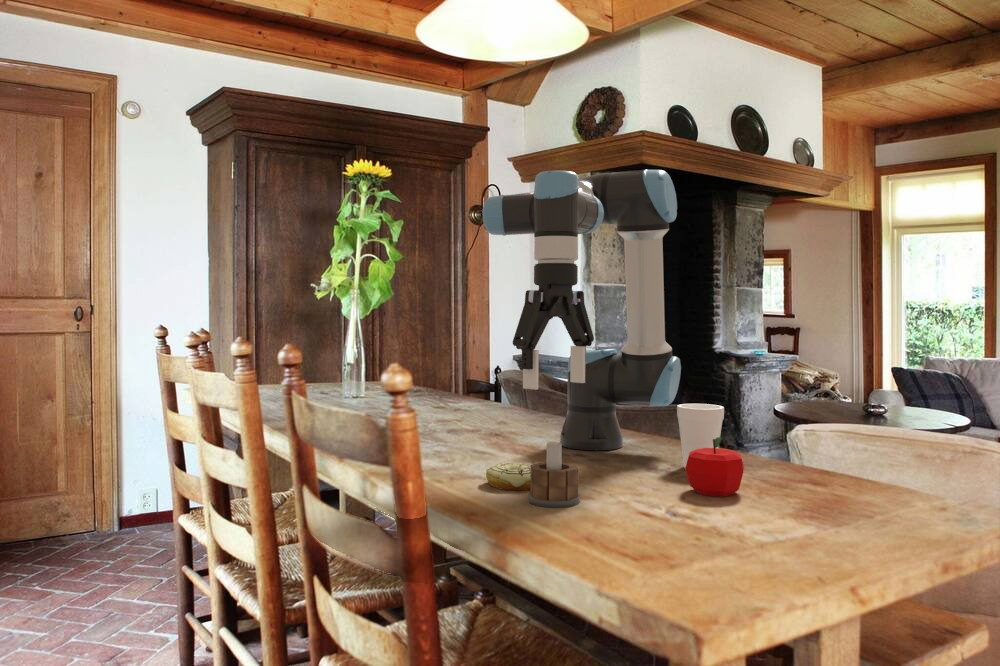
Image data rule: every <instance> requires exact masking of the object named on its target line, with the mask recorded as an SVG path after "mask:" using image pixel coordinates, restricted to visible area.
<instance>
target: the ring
mask: <svg viewBox="0 0 1000 666" xmlns="http://www.w3.org/2000/svg"><path fill="white" fill-rule="evenodd" d="M529 465H530V464H529ZM546 465H547V461H544V462H543V461H542V462H537V463H533V464H531V465H530V489H529V491H530V492H529V493H530V494H531V496H532V497H533V498H535V499H540V500H545V501H547V500H549V501H565V500H571V499H575V498H577V497H578V494H579V467H578V465H576V464H574V463H568V462H562V466H561V470H548V469H546Z"/></svg>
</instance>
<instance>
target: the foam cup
mask: <svg viewBox="0 0 1000 666" xmlns="http://www.w3.org/2000/svg"><path fill="white" fill-rule="evenodd" d="M676 417H677V419H678V427H679V437H680V445H681V453H682V461H683V468H684V469H685V467H686V464H687V460H688V456H689V452H691V451H694V450H696V449H702V448H713V439H716V438H717V437H719V438H721V433H722V432H721V431H722V425H723V421H724V419H725V407H724V406H722V405H717V404H709V403H708V404H707V403H682V404H677V406H676ZM719 446H720V445H719ZM719 446H718V447H717V448H719Z"/></svg>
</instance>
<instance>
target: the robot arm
mask: <svg viewBox="0 0 1000 666" xmlns="http://www.w3.org/2000/svg"><path fill="white" fill-rule="evenodd" d="M533 188H534V190H533V191H529V192H522V193H521V192H520V193H515V194H514V193H513V194H500V195H493V196H492V195H491V196H489V197H488V198H487V199H486V200H485V202H484V204H483V206H482V207H483V208H482V223H483V225H484V228H485V230H486V231H487V233H489V234H490V235H494V236H503V237H505V236H513V235H516V236H517V235H531V234H533V235H534V251H533V252H534V253H533V254H534V255H533V257H534V261H536V262H537V263H535V264H534V265H533V284H534V285H536V286H538V289H527V290H526V291H525V294H524V295H525V297H524V305H523V307H522V310H521V313H520V318H519V320H518V323H517V327H516V331H515V333H514V336H513V339H512V345H513V346H514V347H515V348H516V350H521V368H522V389H525V390H536V391H537V390H539V369H540V368H539V363H540V362H539V360H540V357H539V356H540V355H539V353H540V350H538V349H536V348H537V345H538V344H539V341H540V339H541V337H542V335H543V333H544V331H545V330H546V329H547V328H546V327H547V326H548V324H549V321H550V320H553V318H556V317H557V318H559V319H560V320H561V321H562V324H563V325H564V328H565V329H566V332H567V334H568V335H569V337H570V339H571V341H572V343H573V345H570V356H569V357H568V362H567V363H568V364H567V370H566V374H567V413H566V417H565V419H564V423H563V425H562V429H561V432H560V435H559V443H561V444H562V447H564V448H568V449H573V450H582V451H608V450H609V451H610V450H616V449H620V448H622V447H623V446H624V445H623V444H624V442H623V441H624V437H623V434H622V430H621V426H620V423H619V421H618V417H617V414H616V412H617V411H616V410H617V405H616V404H620V405H630V406H632V405H633V406H649V407H652V408H653V407H667V406H669V405H670V404H672V403H673V401H674V400H675V398H676V395H677V393H678V389H679V384H680V380H681V373H682V372H681V371H682V365H681V359H680V358H679V357H678V356H675V355H673V348H672V346H671V345H670V344H669V343H668V342H666V327H665V326H666V325H665V324H666V321H665V290H664V289H665V286H664V251H663V250H664V249H663V247H664V246H663V244H664V243H663V238H664V236H665V235H666V234H667V233H668V231H670V223H673V222H674V221H676V218H677V215H678V211H677V210H678V200H677V193H676V190H675V185H674V183H673V180H672V179H671V176H670V175H669V174H668V172H666V171H665V170H662V169H641V170H628V171H618V172H604V173H596V174H592V175H589V176H585V177H581V178H579V176H578V174H577V173H575V172H574V171H570V170H561V169H560V170H546V171H541V172H538V174H537V175H536V176H535V178H534V187H533ZM601 225H616V233H617V234H618V235H619V236H620V237H621V238H623V240H624V242H623V243H624V248H623V249H624V270H625V271H624V272H625V273H624V274H625V277H624V278H625V296H626V297H625V298H626V299H625V301H626V329H627V331H626V333H627V334H626V335H627V342H626V343H625V344H624V346H623V347H622V348H621V354H618V351H617V349H616V348H608V349H597V350H596V349H595V350H588V351H587V347H591V346H592V344H593V342H594V339H595V337H594V333H593V329H592V326H591V323H590V322H591V321H590V318H589V315H588V311H587V308H586V303H585V294H584V293H585V292H584V291H583V290H573V286H576V285H578V281H579V279H578V275H579V274H578V273H579V271H578V267H579V266H578V265H577V263H575V262H576V261H578V260H579V237H578V236H579V235H580V234H583V235H585V234H590V233H593V232H595V231H596V230H598V229H599V227H600V226H601Z"/></svg>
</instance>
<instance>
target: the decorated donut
mask: <svg viewBox="0 0 1000 666" xmlns="http://www.w3.org/2000/svg"><path fill="white" fill-rule="evenodd" d="M485 473H486V474H485V476H486V477H485V478H486V480H487V482H488V483H489V485H490V486H491V487H493V488H496V489H499V490H509V491H512V490H513V491H528V490H530V464H526V463H519V462H518V463H517V462H503V463H502V462H501V463H497V464H495V465H491V466H489V467H488V468H486V470H485Z"/></svg>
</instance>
